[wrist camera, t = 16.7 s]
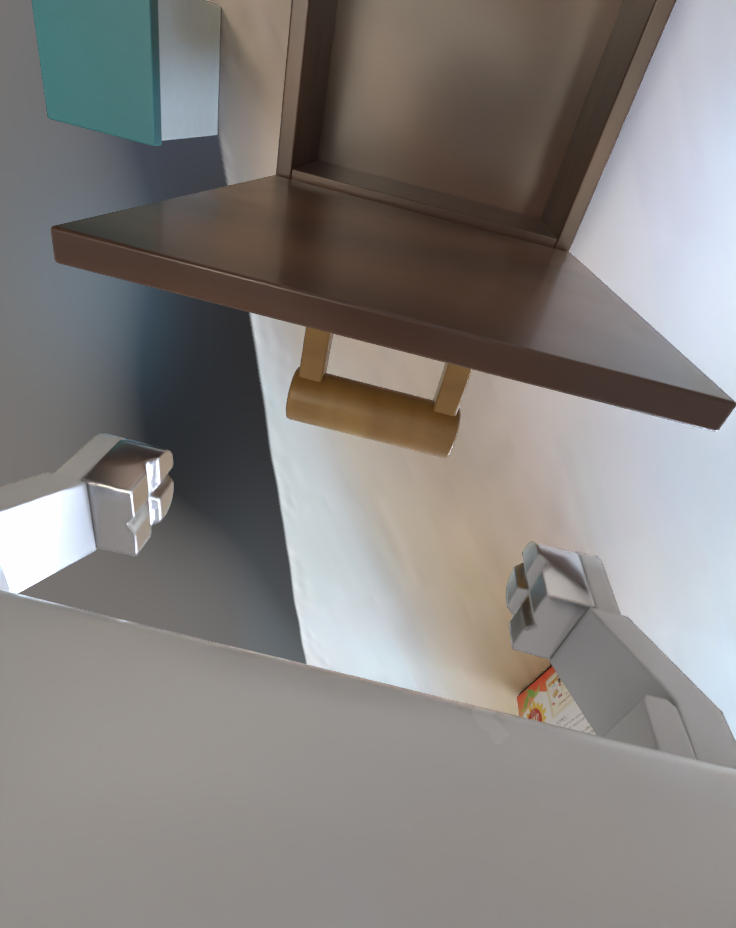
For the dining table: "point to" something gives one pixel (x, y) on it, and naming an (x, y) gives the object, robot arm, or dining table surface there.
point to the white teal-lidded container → (131, 66)
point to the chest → (465, 104)
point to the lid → (397, 303)
